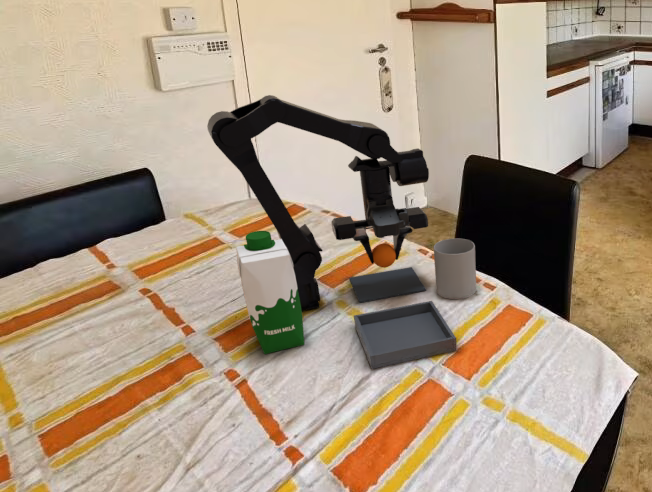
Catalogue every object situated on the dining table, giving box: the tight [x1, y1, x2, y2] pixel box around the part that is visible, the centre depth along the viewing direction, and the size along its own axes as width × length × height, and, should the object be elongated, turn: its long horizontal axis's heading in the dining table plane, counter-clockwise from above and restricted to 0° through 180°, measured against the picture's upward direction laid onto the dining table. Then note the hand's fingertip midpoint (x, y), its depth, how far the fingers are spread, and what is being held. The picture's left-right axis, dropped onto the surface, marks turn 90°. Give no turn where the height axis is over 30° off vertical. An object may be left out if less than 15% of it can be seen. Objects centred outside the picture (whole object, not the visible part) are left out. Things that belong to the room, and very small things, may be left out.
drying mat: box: [349, 266, 427, 304], centre depth 134 cm, size 14×12×1 cm
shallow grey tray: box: [353, 300, 458, 370], centre depth 114 cm, size 15×15×3 cm
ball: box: [371, 243, 396, 268], centre depth 130 cm, size 5×5×5 cm
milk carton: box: [235, 230, 305, 355], centre depth 109 cm, size 9×9×20 cm
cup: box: [433, 237, 477, 300], centre depth 129 cm, size 8×8×10 cm
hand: (384, 261), depth 131 cm, fingers closed on ball, 5 cm apart
